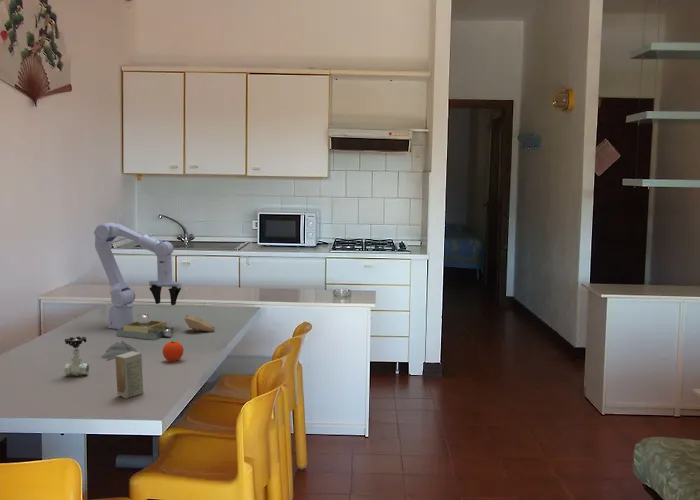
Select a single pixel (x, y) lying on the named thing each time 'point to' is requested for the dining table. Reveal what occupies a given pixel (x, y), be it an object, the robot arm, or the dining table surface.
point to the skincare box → (129, 374)
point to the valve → (76, 358)
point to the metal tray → (146, 330)
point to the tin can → (144, 320)
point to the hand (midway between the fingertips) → (165, 304)
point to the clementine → (173, 351)
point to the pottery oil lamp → (198, 323)
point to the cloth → (117, 350)
